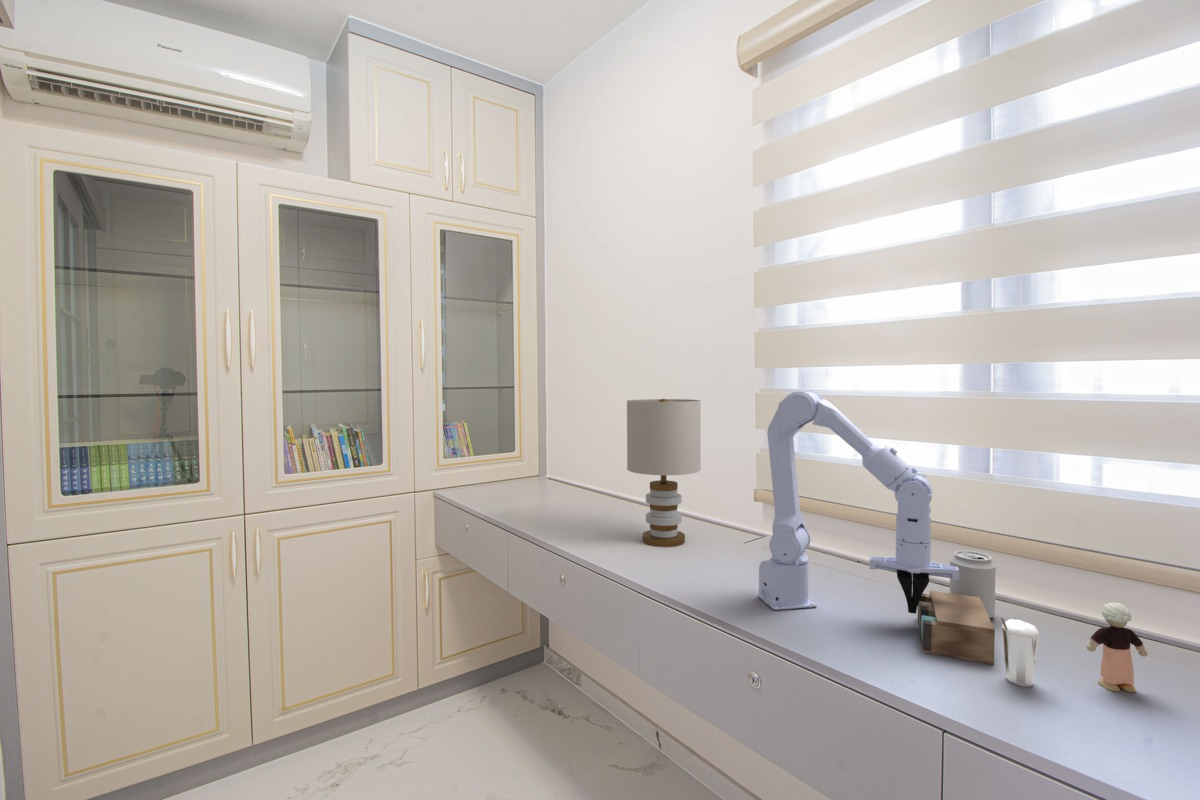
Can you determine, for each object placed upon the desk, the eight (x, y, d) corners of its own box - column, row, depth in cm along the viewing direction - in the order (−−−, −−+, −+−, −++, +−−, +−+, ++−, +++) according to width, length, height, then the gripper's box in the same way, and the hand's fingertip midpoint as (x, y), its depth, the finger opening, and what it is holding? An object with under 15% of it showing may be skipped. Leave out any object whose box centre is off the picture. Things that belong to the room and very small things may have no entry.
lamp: (660, 527, 178) (660, 397, 177) (715, 541, 163) (715, 398, 162) (612, 540, 164) (611, 399, 163) (667, 556, 149) (667, 400, 147)
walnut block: (923, 652, 96) (923, 618, 96) (917, 618, 110) (917, 588, 109) (994, 664, 92) (994, 629, 92) (979, 628, 105) (979, 597, 105)
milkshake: (989, 674, 89) (990, 611, 88) (1021, 672, 89) (1022, 610, 89) (1012, 690, 84) (1013, 624, 84) (1046, 688, 85) (1047, 622, 84)
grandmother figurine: (1126, 679, 87) (1128, 597, 87) (1151, 693, 83) (1153, 608, 83) (1077, 680, 87) (1079, 598, 86) (1100, 694, 83) (1102, 609, 83)
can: (980, 625, 106) (981, 562, 106) (941, 611, 113) (942, 551, 113) (1003, 617, 110) (1004, 556, 109) (963, 604, 116) (964, 546, 116)
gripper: (869, 540, 106) (869, 612, 106) (961, 550, 99) (960, 626, 100) (870, 531, 112) (869, 599, 112) (956, 540, 106) (955, 611, 106)
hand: (912, 611), depth 106 cm, fingers closed
